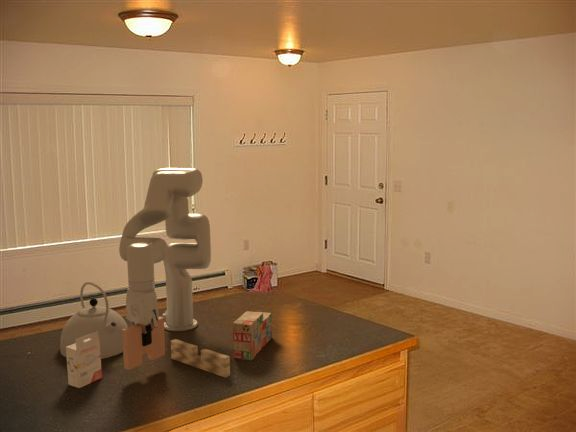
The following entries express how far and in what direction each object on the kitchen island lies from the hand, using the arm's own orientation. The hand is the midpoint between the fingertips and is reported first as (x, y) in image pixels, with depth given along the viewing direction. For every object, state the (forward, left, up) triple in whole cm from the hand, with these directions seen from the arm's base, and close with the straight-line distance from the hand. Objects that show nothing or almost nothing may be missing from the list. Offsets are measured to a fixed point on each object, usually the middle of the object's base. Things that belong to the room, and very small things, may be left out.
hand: (144, 343), depth 179 cm
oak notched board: (+9, +14, -10) cm, 19 cm away
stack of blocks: (+12, +36, -10) cm, 39 cm away
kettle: (-30, +4, -10) cm, 31 cm away
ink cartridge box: (-10, -14, -10) cm, 20 cm away
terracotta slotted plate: (0, 0, -6) cm, 6 cm away
